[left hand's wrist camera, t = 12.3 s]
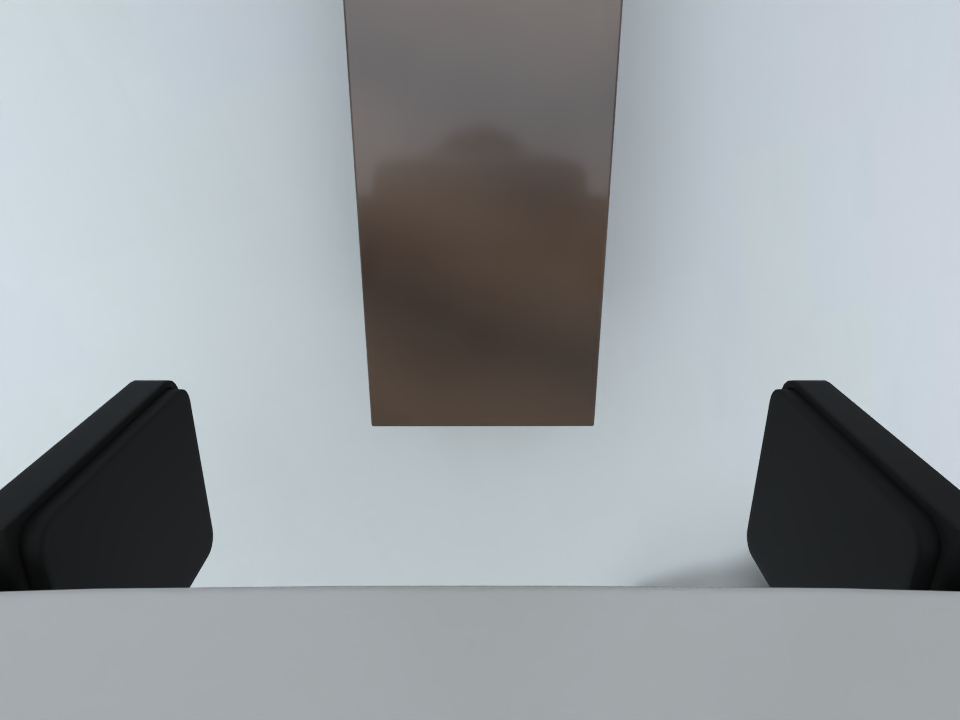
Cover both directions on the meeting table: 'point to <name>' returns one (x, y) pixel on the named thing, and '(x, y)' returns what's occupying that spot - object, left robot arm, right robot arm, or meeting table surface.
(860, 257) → the meeting table surface
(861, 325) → the meeting table surface
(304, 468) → the meeting table surface
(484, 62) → the cabinet
